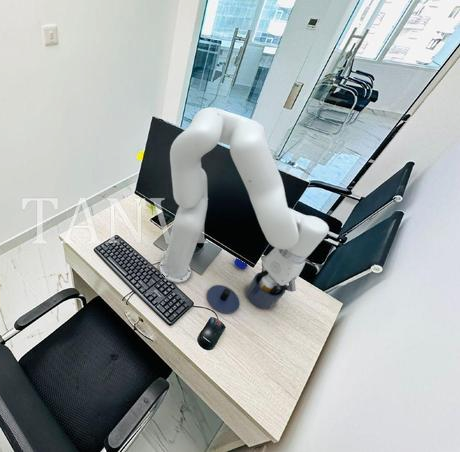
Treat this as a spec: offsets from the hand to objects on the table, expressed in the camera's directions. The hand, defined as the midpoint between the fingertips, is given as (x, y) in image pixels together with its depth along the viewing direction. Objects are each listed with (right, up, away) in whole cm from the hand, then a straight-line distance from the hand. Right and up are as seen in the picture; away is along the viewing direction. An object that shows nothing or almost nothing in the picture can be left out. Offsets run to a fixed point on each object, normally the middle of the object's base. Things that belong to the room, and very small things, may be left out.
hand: (267, 284), depth 90 cm
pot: (0, -6, +5) cm, 8 cm away
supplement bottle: (0, -4, +3) cm, 5 cm away
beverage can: (-3, +4, +16) cm, 17 cm away
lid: (-15, -6, +3) cm, 16 cm away
